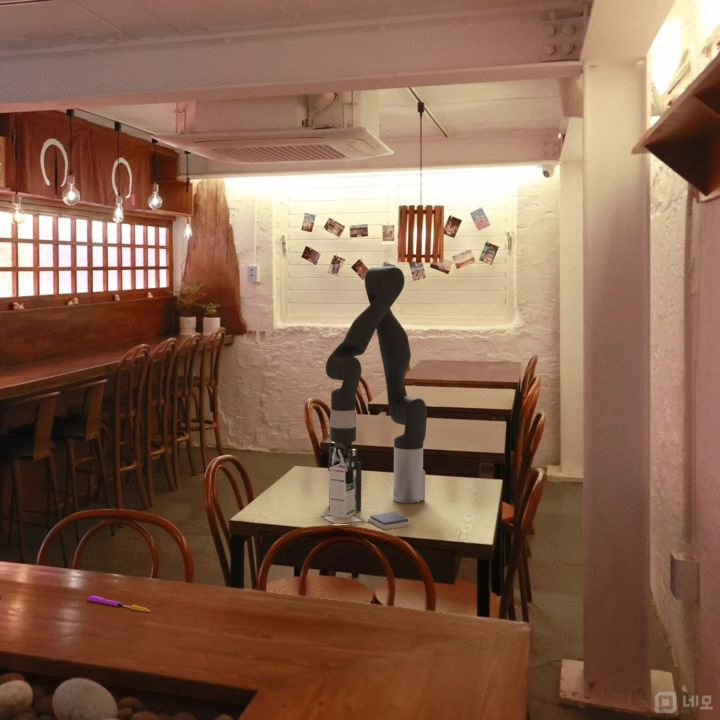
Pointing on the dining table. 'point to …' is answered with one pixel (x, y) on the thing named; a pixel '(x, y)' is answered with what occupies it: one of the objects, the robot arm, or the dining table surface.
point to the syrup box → (341, 492)
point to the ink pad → (389, 520)
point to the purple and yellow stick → (115, 603)
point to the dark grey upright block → (358, 485)
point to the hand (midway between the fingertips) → (342, 480)
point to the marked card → (342, 519)
